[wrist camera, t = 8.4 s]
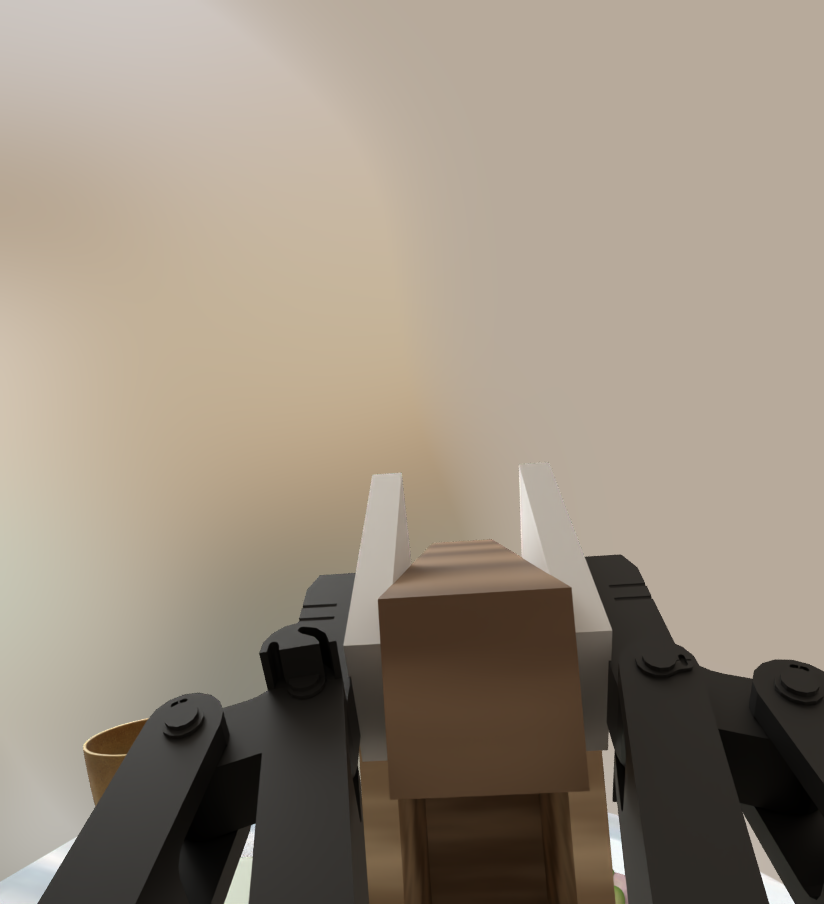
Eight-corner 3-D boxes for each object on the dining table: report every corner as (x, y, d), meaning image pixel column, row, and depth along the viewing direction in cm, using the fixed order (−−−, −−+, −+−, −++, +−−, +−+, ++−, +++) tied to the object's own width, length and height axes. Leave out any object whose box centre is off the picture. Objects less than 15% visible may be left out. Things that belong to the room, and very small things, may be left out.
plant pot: (196, 833, 87) (192, 705, 89) (248, 875, 76) (242, 727, 77) (70, 878, 78) (68, 734, 79) (107, 933, 66) (104, 764, 68)
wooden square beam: (589, 791, 10) (571, 587, 10) (389, 799, 10) (377, 599, 11) (496, 599, 34) (491, 539, 34) (436, 602, 34) (432, 542, 34)
